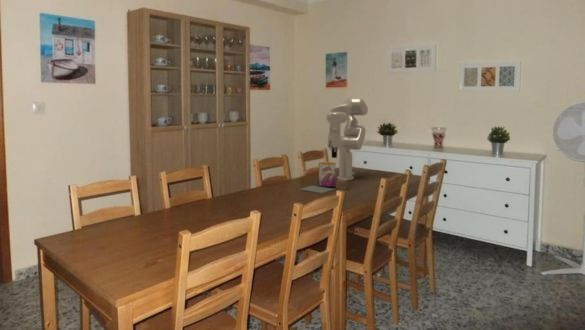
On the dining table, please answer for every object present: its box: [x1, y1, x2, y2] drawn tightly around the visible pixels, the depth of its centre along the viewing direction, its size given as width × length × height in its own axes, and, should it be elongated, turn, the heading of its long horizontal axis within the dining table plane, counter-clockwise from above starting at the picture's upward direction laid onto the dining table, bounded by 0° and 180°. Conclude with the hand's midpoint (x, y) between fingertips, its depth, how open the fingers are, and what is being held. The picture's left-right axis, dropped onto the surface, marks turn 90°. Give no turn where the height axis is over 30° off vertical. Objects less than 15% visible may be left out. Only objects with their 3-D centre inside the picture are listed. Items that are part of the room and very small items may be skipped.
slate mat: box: [299, 185, 336, 195], centre depth 290 cm, size 15×18×1 cm
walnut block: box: [335, 179, 348, 191], centre depth 293 cm, size 6×6×6 cm
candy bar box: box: [317, 161, 336, 188], centre depth 299 cm, size 11×5×16 cm, turn 85°
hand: (334, 157), depth 303 cm, fingers closed
